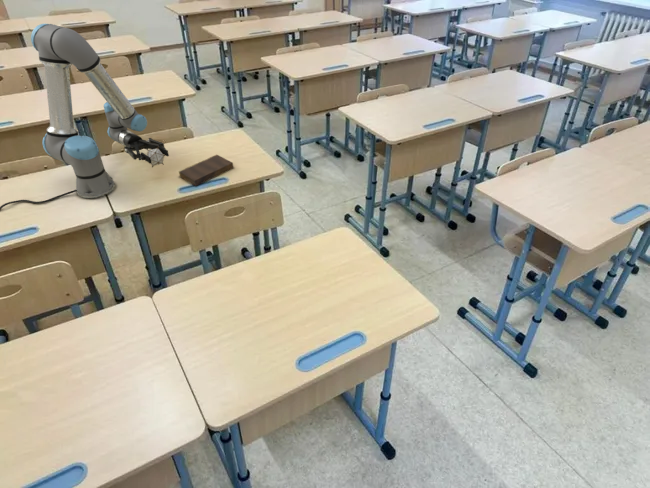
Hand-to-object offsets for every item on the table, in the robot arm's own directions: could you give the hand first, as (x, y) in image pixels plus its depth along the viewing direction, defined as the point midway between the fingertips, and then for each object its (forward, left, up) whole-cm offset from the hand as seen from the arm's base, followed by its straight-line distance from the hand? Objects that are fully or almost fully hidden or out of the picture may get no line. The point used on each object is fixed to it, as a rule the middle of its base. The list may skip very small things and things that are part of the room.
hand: (158, 156), depth 200 cm
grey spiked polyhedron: (+1, +5, -6) cm, 8 cm away
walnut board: (+17, -9, -12) cm, 23 cm away
